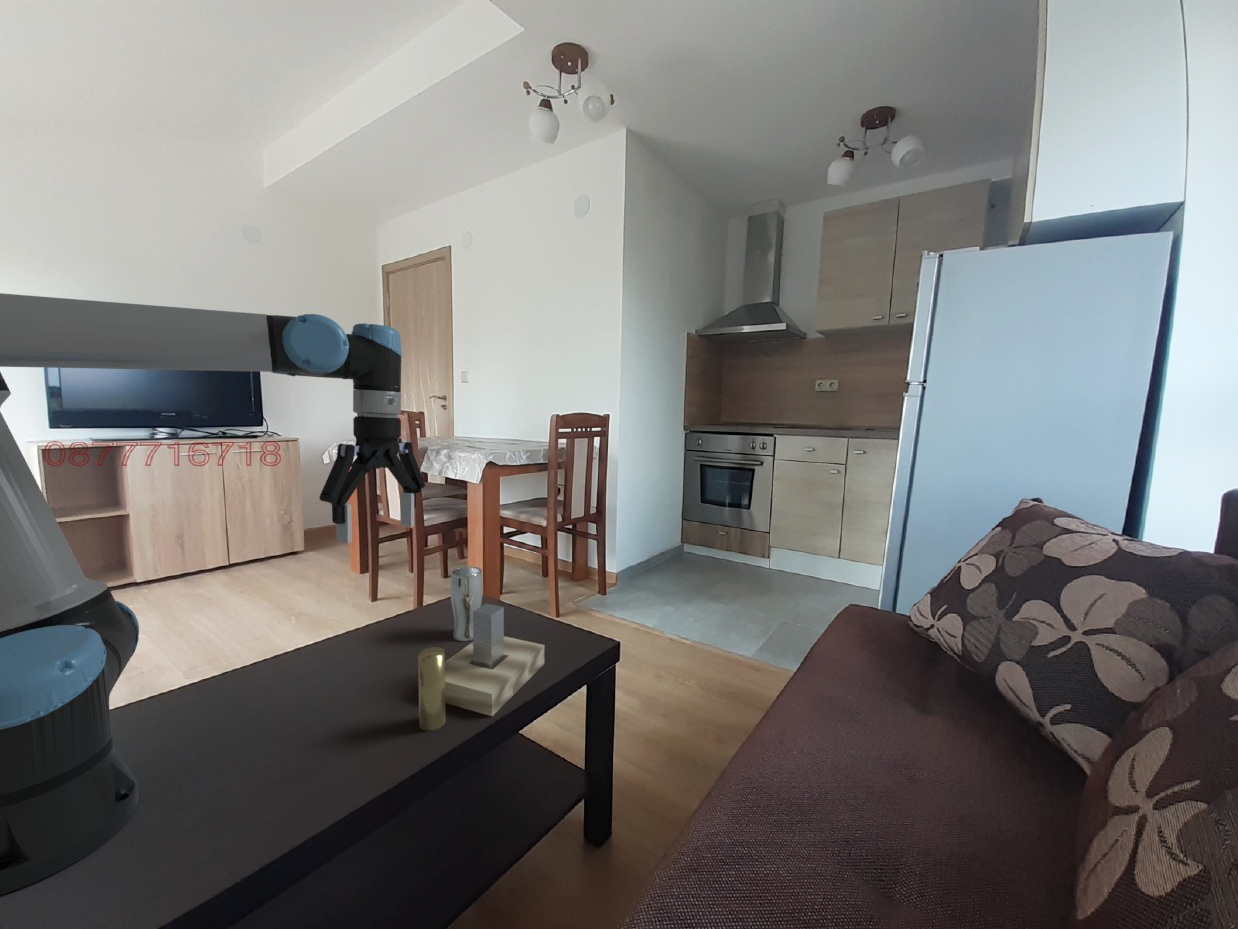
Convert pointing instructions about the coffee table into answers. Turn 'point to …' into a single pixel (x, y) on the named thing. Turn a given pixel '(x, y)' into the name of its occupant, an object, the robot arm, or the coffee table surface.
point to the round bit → (431, 688)
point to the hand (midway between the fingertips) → (377, 533)
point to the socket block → (491, 676)
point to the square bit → (488, 636)
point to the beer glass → (465, 599)
